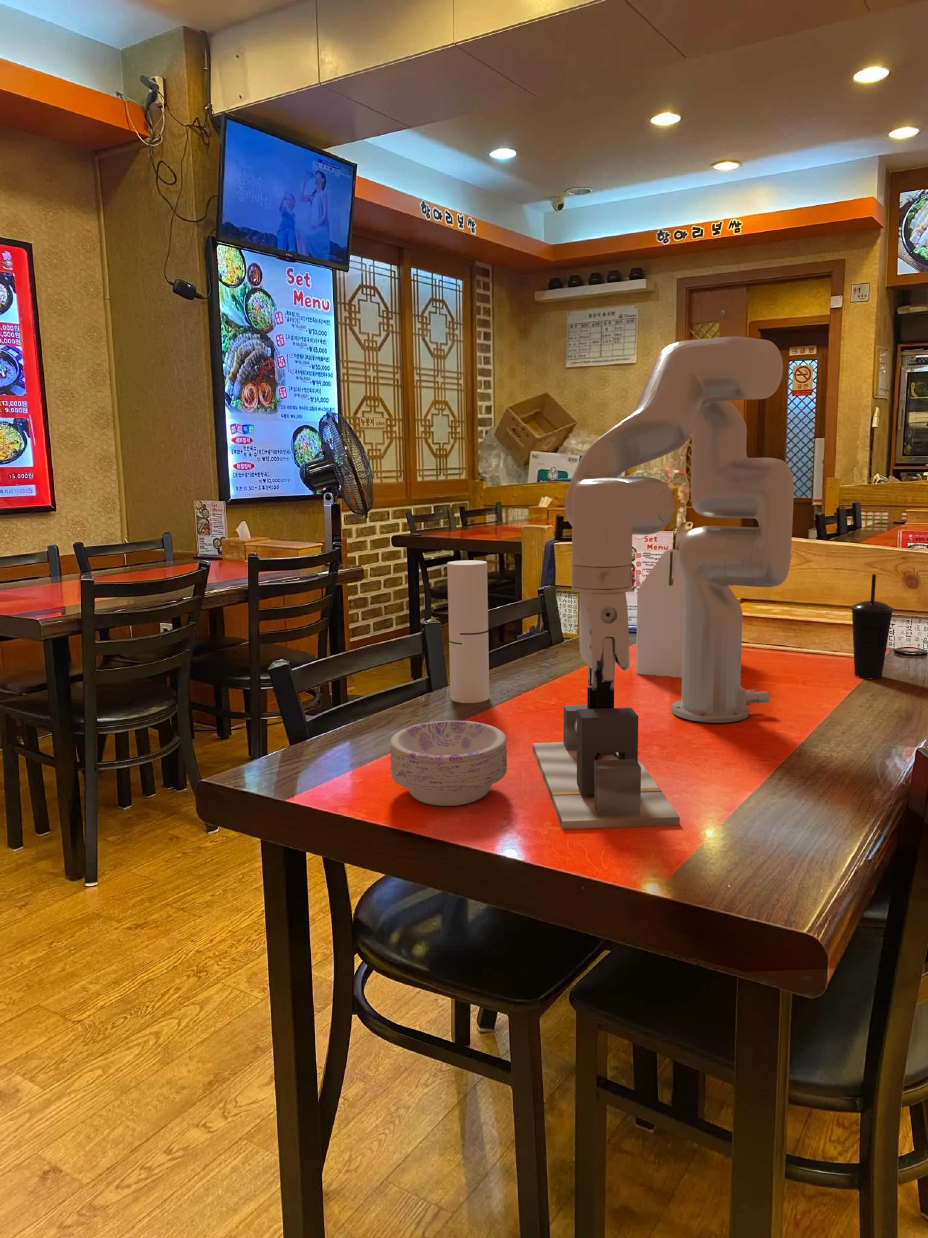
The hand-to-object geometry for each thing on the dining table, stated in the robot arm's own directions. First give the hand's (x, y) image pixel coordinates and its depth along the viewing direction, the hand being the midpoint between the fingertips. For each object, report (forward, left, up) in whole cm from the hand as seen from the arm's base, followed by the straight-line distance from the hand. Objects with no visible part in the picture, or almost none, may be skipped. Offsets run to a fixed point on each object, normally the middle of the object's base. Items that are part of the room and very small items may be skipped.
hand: (600, 717), depth 119 cm
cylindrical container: (+15, -48, -10) cm, 51 cm away
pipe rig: (0, -2, -10) cm, 10 cm away
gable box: (-30, -69, -10) cm, 76 cm away
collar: (0, +4, -8) cm, 9 cm away
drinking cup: (-63, -55, -10) cm, 84 cm away
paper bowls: (+20, 0, -10) cm, 22 cm away
